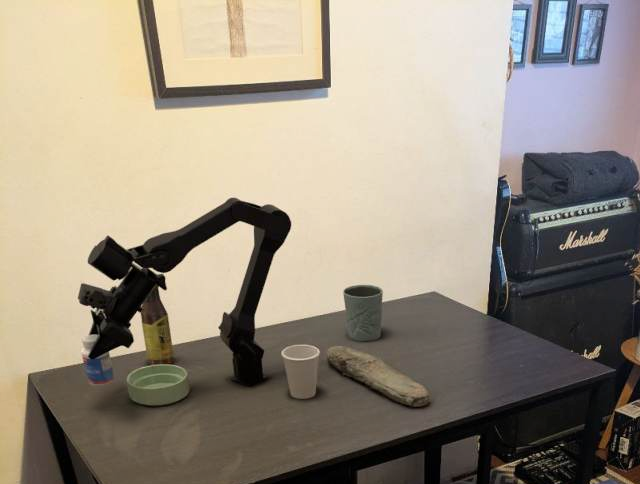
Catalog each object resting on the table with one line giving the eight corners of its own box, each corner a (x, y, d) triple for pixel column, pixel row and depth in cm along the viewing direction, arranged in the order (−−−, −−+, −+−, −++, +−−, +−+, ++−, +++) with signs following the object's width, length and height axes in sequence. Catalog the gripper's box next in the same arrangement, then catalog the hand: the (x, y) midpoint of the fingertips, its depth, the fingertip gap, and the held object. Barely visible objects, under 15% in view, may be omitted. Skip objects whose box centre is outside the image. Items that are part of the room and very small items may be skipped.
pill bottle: (83, 384, 163) (72, 340, 158) (99, 374, 167) (89, 331, 162) (104, 388, 162) (93, 344, 156) (120, 378, 166) (110, 334, 160)
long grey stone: (405, 419, 166) (439, 408, 171) (407, 397, 163) (442, 387, 168) (314, 360, 188) (347, 352, 193) (314, 339, 185) (348, 332, 190)
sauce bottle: (168, 368, 185) (154, 286, 173) (143, 366, 186) (128, 284, 174) (179, 358, 190) (167, 278, 179) (155, 356, 191) (142, 276, 180)
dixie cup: (305, 382, 179) (303, 341, 173) (329, 393, 174) (327, 351, 168) (276, 393, 174) (273, 351, 168) (300, 405, 169) (297, 362, 163)
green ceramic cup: (382, 342, 199) (382, 297, 192) (343, 342, 199) (342, 296, 192) (382, 328, 207) (383, 284, 200) (345, 328, 207) (344, 284, 201)
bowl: (202, 392, 174) (199, 373, 171) (156, 413, 165) (152, 393, 163) (164, 377, 180) (161, 359, 178) (118, 396, 172) (114, 378, 169)
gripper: (90, 257, 160) (48, 316, 162) (104, 283, 146) (57, 348, 148) (136, 289, 167) (95, 345, 169) (153, 316, 153) (108, 378, 155)
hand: (88, 353), depth 160 cm, fingers closed on pill bottle, 5 cm apart
